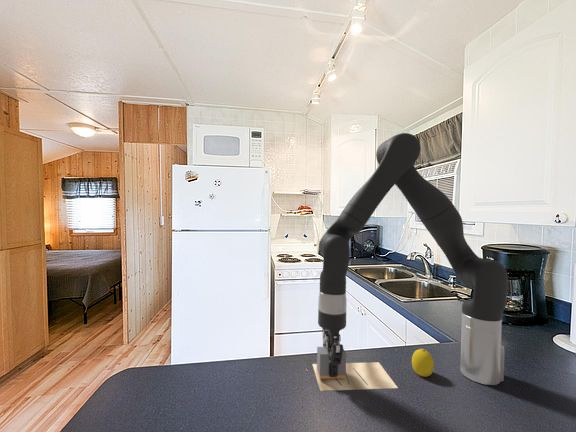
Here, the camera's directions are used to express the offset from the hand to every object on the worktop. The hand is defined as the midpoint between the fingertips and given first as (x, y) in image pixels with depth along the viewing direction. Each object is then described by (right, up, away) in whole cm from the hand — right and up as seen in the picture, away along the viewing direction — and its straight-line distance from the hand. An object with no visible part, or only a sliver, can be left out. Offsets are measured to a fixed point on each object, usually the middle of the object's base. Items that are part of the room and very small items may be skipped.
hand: (330, 370), depth 74 cm
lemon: (+26, -3, +2) cm, 26 cm away
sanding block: (0, -1, 0) cm, 1 cm away
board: (+6, -3, 0) cm, 6 cm away
